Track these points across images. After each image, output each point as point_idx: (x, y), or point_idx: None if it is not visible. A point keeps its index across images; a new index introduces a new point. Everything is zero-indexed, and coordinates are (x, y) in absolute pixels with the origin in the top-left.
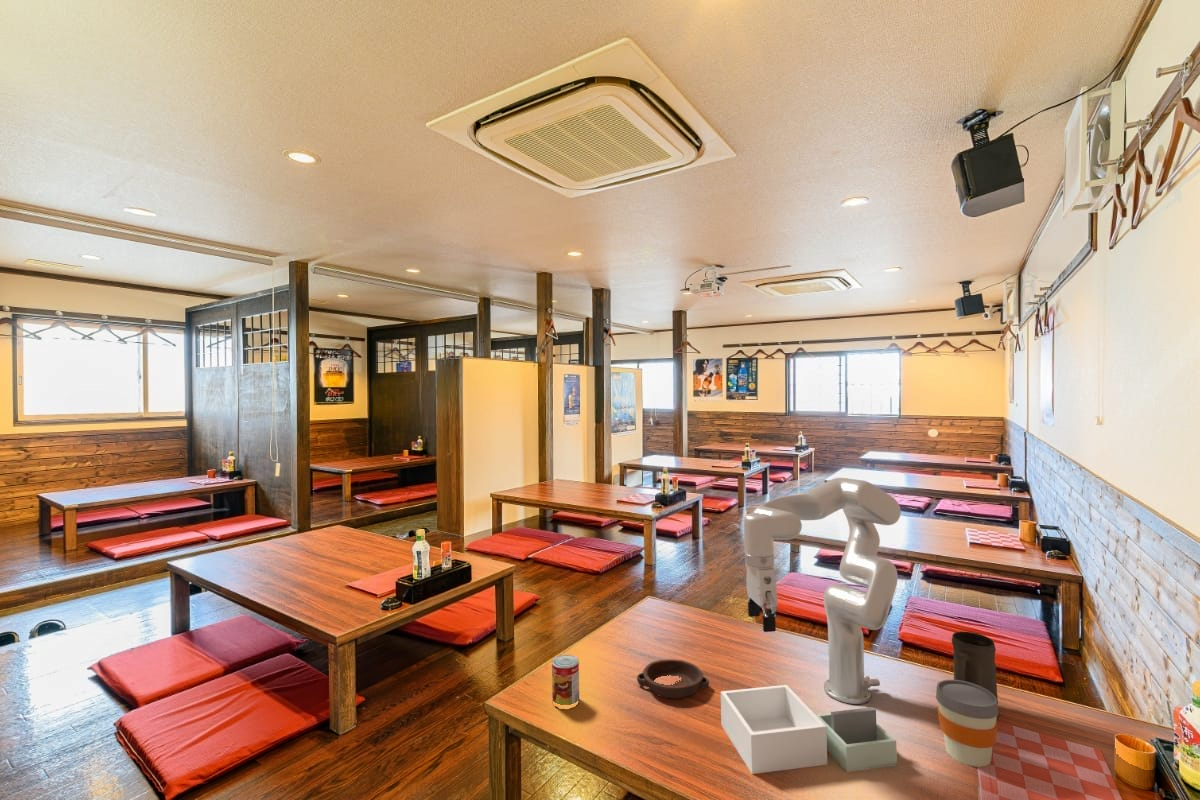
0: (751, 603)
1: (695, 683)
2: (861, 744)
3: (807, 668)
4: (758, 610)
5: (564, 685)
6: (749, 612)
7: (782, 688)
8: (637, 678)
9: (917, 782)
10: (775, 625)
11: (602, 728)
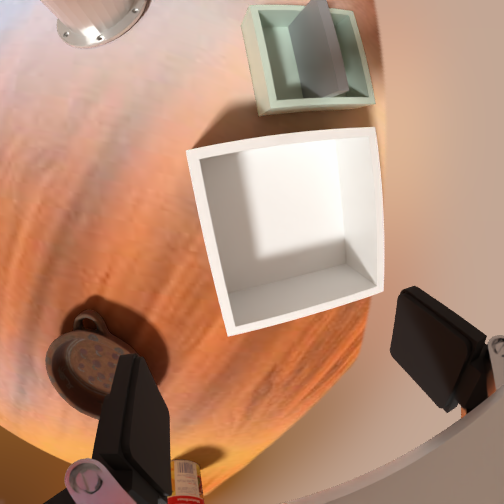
0: (166, 489)
1: (128, 353)
2: (368, 72)
3: (7, 74)
4: (142, 396)
5: (202, 491)
6: (168, 436)
7: (200, 167)
8: None
9: (366, 27)
10: (435, 299)
11: (236, 438)
